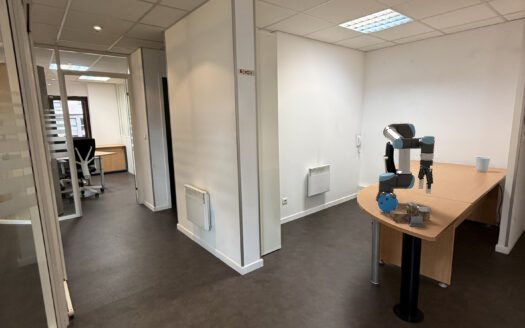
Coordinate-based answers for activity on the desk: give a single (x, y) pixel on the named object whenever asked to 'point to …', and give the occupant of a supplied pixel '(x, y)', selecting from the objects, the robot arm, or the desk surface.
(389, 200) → the alarm clock
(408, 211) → the tan rectangular block
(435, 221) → the desk surface
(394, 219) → the beam
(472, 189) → the desk surface
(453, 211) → the desk surface
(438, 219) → the desk surface
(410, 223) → the grey slotted plate stand
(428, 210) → the axle
